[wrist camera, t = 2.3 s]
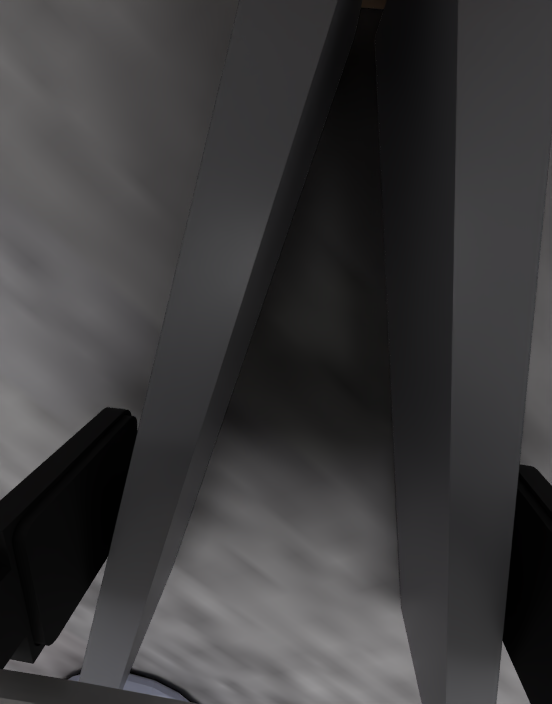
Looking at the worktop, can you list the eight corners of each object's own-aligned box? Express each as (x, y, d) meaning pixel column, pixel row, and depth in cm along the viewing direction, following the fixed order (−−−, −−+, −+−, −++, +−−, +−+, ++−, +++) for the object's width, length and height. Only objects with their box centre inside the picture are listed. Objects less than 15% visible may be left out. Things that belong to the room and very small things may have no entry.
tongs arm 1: (311, 19, 8) (304, -277, 3) (354, 36, 8) (412, -234, 3) (148, 560, 14) (68, 725, 10) (172, 569, 14) (103, 737, 10)
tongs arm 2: (374, 37, 8) (461, -233, 3) (422, 26, 8) (591, -276, 3) (400, 607, 14) (444, 806, 9) (428, 607, 14) (485, 809, 9)
